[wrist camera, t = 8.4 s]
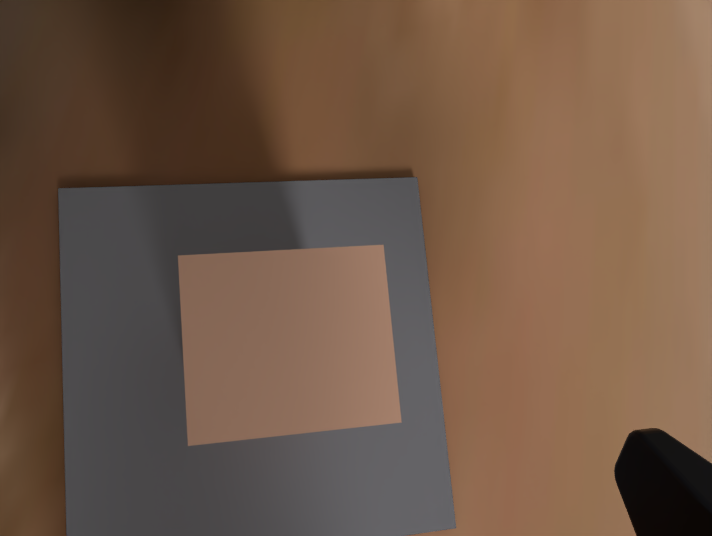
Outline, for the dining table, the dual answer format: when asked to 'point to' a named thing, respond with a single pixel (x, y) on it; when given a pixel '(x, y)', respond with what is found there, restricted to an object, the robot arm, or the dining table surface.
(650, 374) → the dining table surface
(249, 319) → the terracotta block
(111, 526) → the charcoal mat
